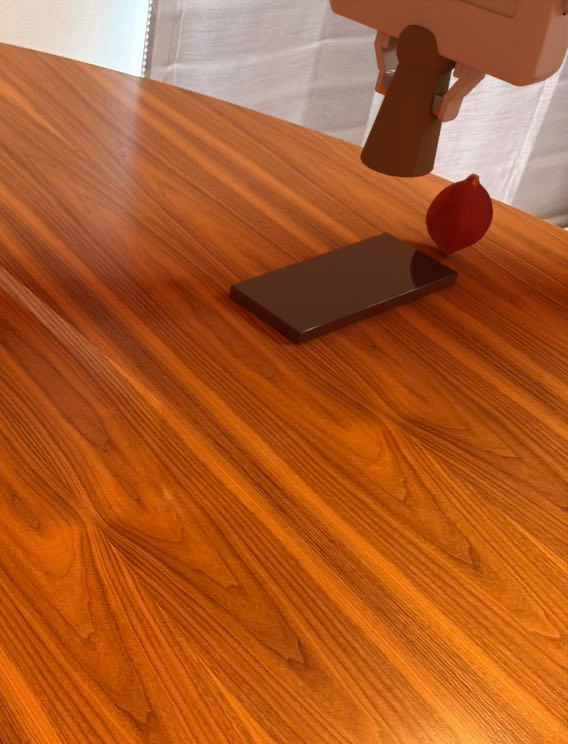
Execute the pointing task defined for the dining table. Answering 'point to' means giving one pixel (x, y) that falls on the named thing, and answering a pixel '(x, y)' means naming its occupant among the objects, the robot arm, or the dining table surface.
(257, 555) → the dining table surface
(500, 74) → the robot arm
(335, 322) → the slate strip
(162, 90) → the dining table surface
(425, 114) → the pepper mill
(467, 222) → the onion
